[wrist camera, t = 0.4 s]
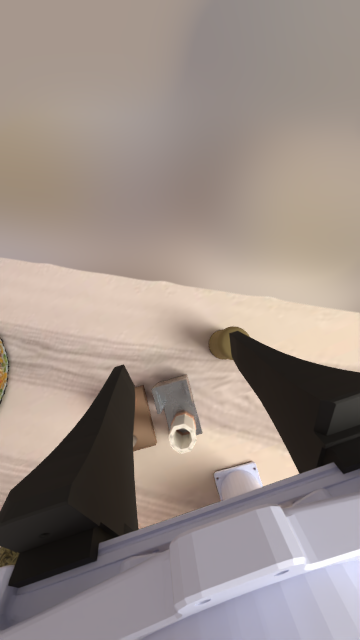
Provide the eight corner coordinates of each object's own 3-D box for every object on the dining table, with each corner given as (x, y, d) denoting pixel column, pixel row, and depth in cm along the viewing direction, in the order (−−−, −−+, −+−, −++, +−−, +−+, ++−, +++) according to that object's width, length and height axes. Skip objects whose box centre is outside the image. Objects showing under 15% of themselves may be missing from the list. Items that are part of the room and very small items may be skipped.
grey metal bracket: (202, 432, 36) (205, 448, 30) (171, 440, 36) (168, 458, 30) (186, 374, 38) (186, 379, 32) (157, 382, 38) (151, 388, 32)
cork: (215, 364, 38) (225, 370, 27) (204, 336, 39) (209, 331, 28) (243, 352, 38) (264, 354, 27) (230, 325, 39) (246, 316, 28)
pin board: (156, 441, 36) (152, 453, 32) (117, 452, 37) (108, 466, 32) (143, 385, 38) (137, 389, 34) (106, 395, 38) (95, 401, 34)
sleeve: (197, 432, 36) (199, 449, 30) (175, 438, 36) (172, 456, 30) (191, 409, 37) (191, 420, 31) (169, 415, 37) (165, 427, 31)
